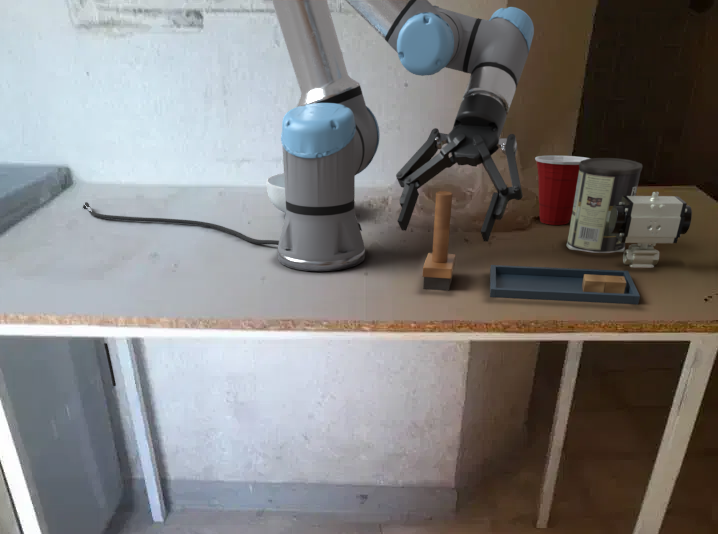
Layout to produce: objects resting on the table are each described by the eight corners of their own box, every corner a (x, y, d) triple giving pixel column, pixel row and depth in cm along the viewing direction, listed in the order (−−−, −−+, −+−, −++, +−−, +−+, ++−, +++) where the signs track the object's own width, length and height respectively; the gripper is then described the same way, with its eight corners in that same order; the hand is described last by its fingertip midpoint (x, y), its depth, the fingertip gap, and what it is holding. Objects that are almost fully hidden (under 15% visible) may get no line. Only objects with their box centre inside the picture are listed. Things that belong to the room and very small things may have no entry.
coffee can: (621, 240, 135) (638, 158, 127) (627, 257, 127) (646, 170, 119) (564, 237, 137) (577, 156, 129) (566, 254, 129) (581, 168, 121)
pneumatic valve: (600, 262, 125) (614, 188, 118) (669, 263, 124) (688, 188, 117) (607, 273, 121) (623, 196, 114) (679, 274, 120) (700, 197, 113)
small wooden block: (603, 293, 111) (605, 281, 110) (601, 286, 114) (604, 275, 113) (623, 294, 111) (626, 282, 110) (621, 287, 113) (624, 276, 112)
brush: (421, 292, 114) (426, 198, 106) (426, 277, 120) (432, 186, 112) (449, 294, 113) (457, 199, 105) (453, 278, 119) (460, 187, 111)
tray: (489, 300, 111) (490, 289, 110) (489, 275, 120) (490, 264, 119) (637, 308, 108) (640, 296, 107) (625, 281, 117) (628, 270, 116)
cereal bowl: (333, 229, 143) (333, 190, 139) (255, 222, 147) (253, 185, 143) (358, 207, 156) (359, 172, 152) (286, 202, 161) (284, 168, 156)
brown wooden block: (583, 292, 112) (585, 280, 111) (581, 285, 114) (584, 274, 113) (603, 293, 111) (605, 281, 110) (601, 286, 114) (604, 275, 113)
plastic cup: (582, 215, 150) (593, 151, 143) (582, 230, 141) (594, 163, 134) (528, 212, 152) (536, 149, 145) (525, 226, 143) (534, 160, 136)
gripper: (565, 130, 113) (523, 254, 111) (417, 120, 123) (376, 234, 121) (562, 95, 106) (518, 227, 104) (405, 87, 116) (362, 208, 114)
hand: (442, 231), depth 112 cm, fingers open, 13 cm apart
